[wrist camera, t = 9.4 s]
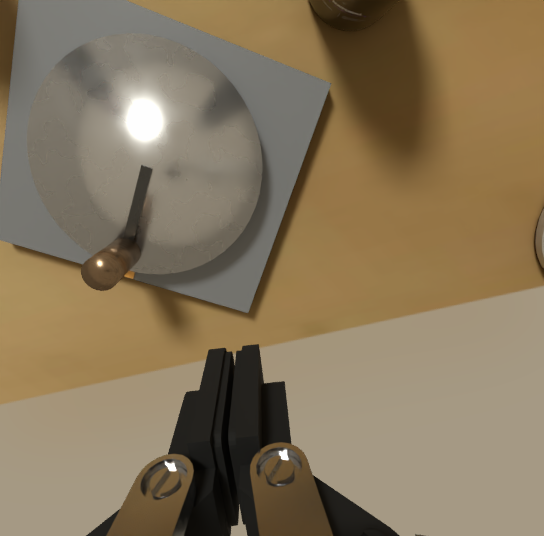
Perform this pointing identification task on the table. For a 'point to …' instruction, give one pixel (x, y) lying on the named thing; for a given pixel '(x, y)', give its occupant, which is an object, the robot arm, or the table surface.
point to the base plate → (239, 71)
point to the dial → (143, 156)
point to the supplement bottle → (351, 12)
